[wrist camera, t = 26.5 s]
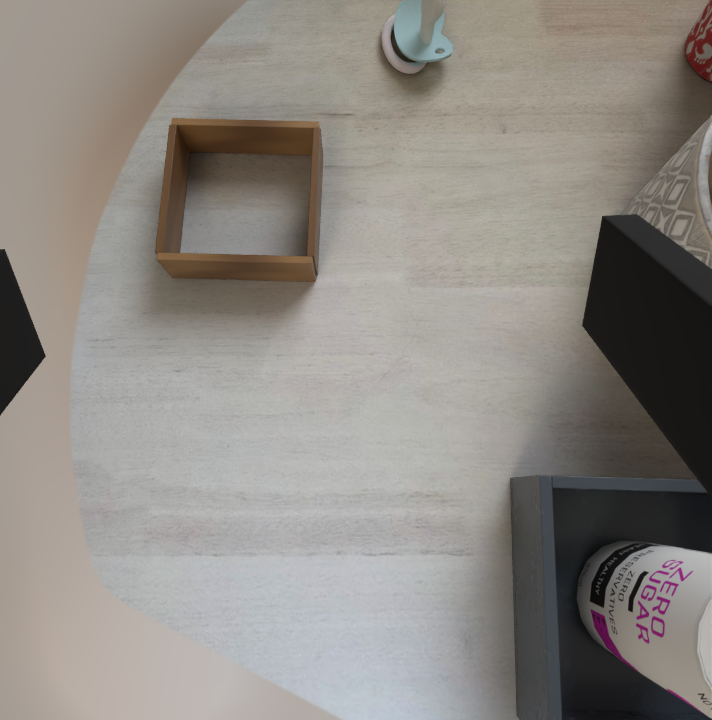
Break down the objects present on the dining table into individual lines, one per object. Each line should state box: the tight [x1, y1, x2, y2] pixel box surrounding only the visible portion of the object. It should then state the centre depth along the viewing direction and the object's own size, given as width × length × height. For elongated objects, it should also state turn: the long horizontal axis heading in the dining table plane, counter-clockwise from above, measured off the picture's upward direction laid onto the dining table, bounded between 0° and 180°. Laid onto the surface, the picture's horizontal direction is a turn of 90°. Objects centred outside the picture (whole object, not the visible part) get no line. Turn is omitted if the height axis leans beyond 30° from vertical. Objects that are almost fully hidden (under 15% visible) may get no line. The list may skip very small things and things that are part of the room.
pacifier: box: [381, 0, 453, 74], centre depth 51 cm, size 7×6×6 cm
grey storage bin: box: [510, 475, 712, 720], centre depth 40 cm, size 17×17×8 cm
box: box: [155, 118, 323, 282], centre depth 48 cm, size 12×12×4 cm
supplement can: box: [577, 540, 712, 719], centre depth 36 cm, size 8×8×15 cm
